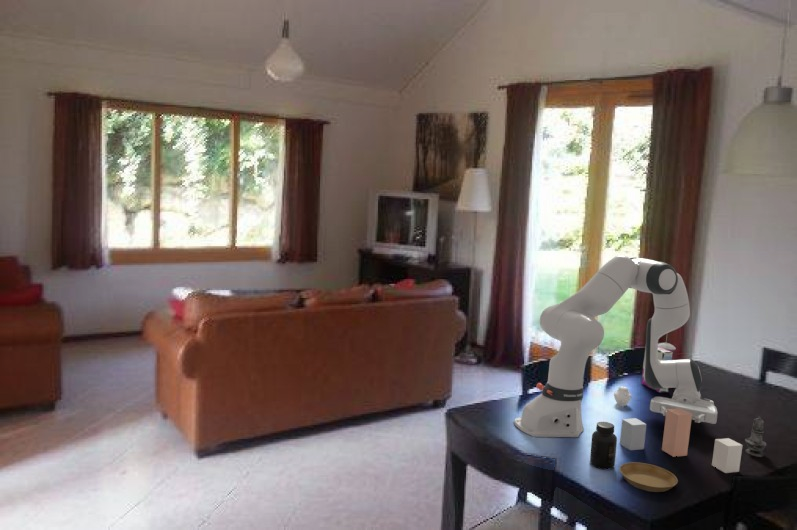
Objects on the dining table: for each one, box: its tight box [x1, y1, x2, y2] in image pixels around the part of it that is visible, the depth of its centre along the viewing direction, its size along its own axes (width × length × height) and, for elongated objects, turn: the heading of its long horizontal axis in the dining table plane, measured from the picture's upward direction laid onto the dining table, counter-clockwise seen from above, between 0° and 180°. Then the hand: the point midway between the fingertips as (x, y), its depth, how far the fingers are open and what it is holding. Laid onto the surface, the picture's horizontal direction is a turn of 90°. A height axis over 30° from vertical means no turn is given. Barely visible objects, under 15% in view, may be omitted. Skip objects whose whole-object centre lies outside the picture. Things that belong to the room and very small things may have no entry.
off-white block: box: [711, 437, 744, 474], centre depth 185 cm, size 5×5×8 cm
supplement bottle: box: [589, 421, 618, 470], centre depth 183 cm, size 7×7×12 cm
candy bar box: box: [640, 345, 674, 393], centre depth 257 cm, size 11×5×16 cm, turn 17°
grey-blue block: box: [619, 417, 647, 451], centre depth 197 cm, size 5×5×8 cm
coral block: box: [661, 408, 692, 458], centre depth 194 cm, size 5×5×13 cm
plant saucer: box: [619, 462, 679, 493], centre depth 174 cm, size 15×15×3 cm
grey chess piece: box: [744, 415, 767, 458], centre depth 197 cm, size 6×6×12 cm
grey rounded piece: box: [613, 386, 632, 407], centre depth 235 cm, size 6×6×7 cm
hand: (681, 417), depth 205 cm, fingers open, 8 cm apart
